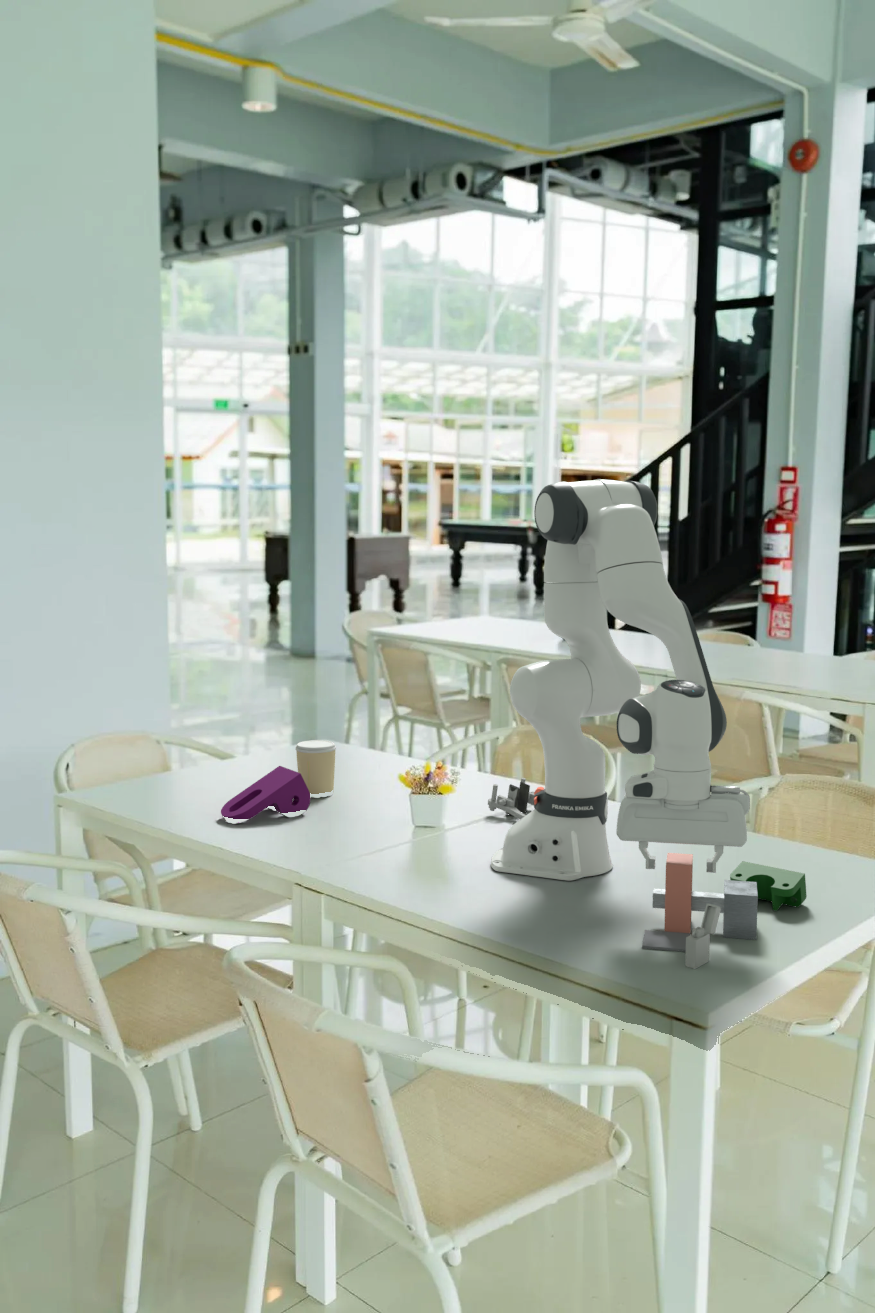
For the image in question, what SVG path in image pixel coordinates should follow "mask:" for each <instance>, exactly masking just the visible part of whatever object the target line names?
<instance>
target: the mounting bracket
mask: <svg viewBox="0 0 875 1313" xmlns="http://www.w3.org/2000/svg"><path fill="white" fill-rule="evenodd" d="M310 805H311V798H310V792H309V790H308V788H307V786H306V784H305V782H304V779H303V777H302V775H301V773H298V771H295V770H293V769H290V768H287V767H284V766H282V765H278V766H277V767H275V768H273V770H271V771H270V772H269V773H267V774H265V775H264V776H262V777H260V779H258V780H257V781H255V782H254V783H252V784H251V785H249V786H248V787H247V788H245V789H244V790H242V791H241V792H239V793H238V794H236V795H234V796H233V797H232V798H230V799H229V800H228V801H226V803H224V805H223V806H222V808H221V809H220V815H221V816H222V817H223V816H224V817H228V818H233V819H249V820H251V819H253V818H254V817H256V816H257V815H259V814H260V813H262V812H263V811H265V810H266V809H267V807H268V806H274V807H275V809H276V811H275V812H277V811H278V812H280V813H288V812H296V811H300V810H306V811H307V810H308V809H309V807H310ZM278 812H277V813H278Z"/></svg>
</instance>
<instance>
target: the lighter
mask: <svg viewBox="0 0 875 1313" xmlns="http://www.w3.org/2000/svg"><path fill="white" fill-rule="evenodd" d="M720 911H721V908H720V907H719V906H716V905H712V904H707V905H706V909H705V912H704V914H703V917H702V922H701V925H700V926H696V927H694V928H693V929H691V930H692V931H691V934H690V936H688V937H686V952H685V958H684V959H685V962H684V963H685V967H687V968H689V969H697V968H698V969H699V968H700V967H702V966H703V965H705V964H707V963H709V962H710V943H711V942H710V940H711V937H710V936H711V935H715V934H716V930H717V926H718V922H719V917H720V914H721V913H720Z"/></svg>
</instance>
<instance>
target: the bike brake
mask: <svg viewBox="0 0 875 1313" xmlns="http://www.w3.org/2000/svg"><path fill="white" fill-rule="evenodd" d="M526 779H527V778H525V777H521V779H520V782H519V787H518V786H516V785H513V784H512V783H511V784H509V786H508V790H507V792H508V793H507V797H506V796H503V795H501V794H499V795H497V794H498V787H499V785H498V784H497V783H495V784H494V783H493V786H492V790H491V791H492V792H491V798H489V799H488V800H487V805H488V808H489V811H490V812H494V811H495V810H496V809H499V810H501V811H504V812H505V814H506V815H508V814H509V816H511V815H513V816H515V818H516V819H518V820H520V819H522V818H523V817H524V816H526V815H527V811H528V810H527V809H528V804H529V805H531V806H534V792H535V791H530V789H531V785H529V784H527V783H526ZM521 812H523V813H521ZM524 813H525V814H524ZM513 816H512V817H513Z"/></svg>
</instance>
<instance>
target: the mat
mask: <svg viewBox="0 0 875 1313" xmlns="http://www.w3.org/2000/svg"><path fill="white" fill-rule="evenodd" d="M690 935H691V932H690V933H680V932H667V931H664V930H654V929H653V930H652V929H644V934H643V940H642V944H641V949H647V950H648V949H649V950H657V951H658V950H660V951H669V952H671V951H672V952H683V953H686V937H688V936H690Z"/></svg>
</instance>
